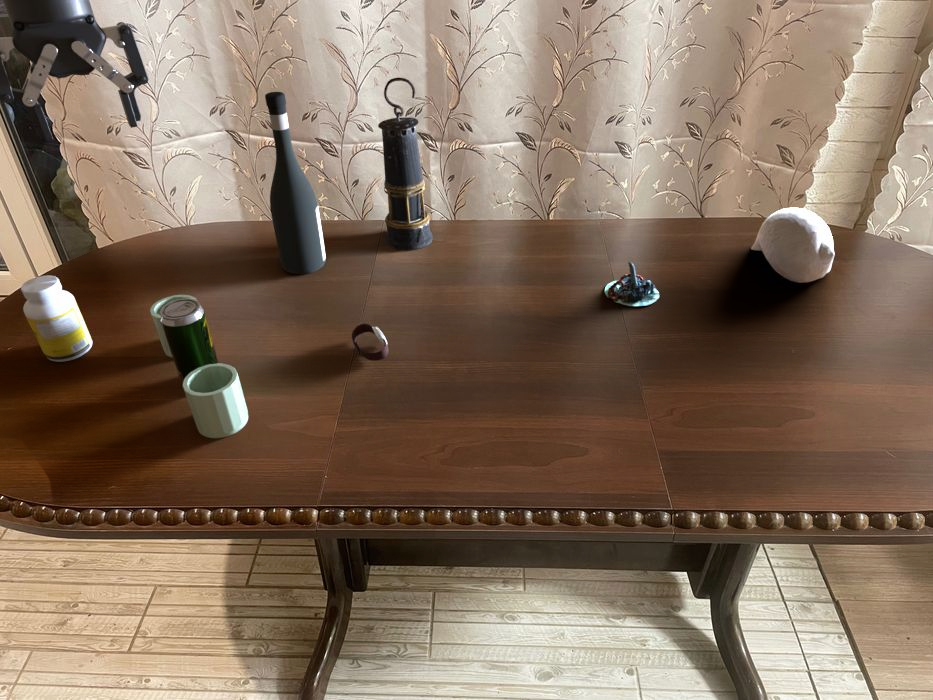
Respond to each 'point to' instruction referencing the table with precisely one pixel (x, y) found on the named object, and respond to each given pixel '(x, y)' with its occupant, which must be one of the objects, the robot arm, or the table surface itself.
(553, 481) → the table surface
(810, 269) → the seashell
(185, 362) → the beer can
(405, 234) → the lantern
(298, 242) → the wine bottle
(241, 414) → the near pot
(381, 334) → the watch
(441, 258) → the table surface
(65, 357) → the pill bottle
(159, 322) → the far pot
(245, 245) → the table surface
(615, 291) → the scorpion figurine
